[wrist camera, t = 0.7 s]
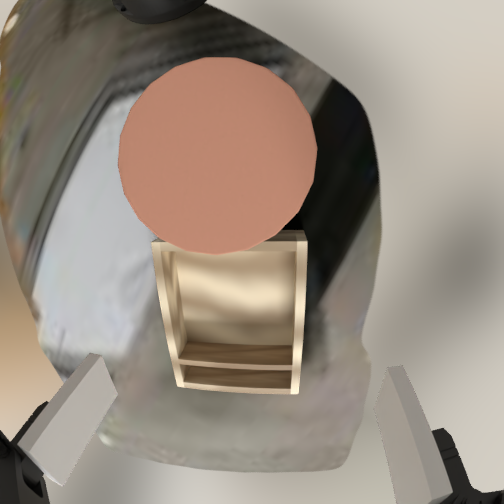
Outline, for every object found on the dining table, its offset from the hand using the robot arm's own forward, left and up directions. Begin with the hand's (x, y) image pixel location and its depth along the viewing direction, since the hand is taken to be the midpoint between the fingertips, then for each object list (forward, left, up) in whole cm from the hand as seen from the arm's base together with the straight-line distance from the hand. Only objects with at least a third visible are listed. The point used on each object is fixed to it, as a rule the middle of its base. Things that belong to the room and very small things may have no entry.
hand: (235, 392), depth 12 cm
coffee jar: (-10, -2, -23) cm, 25 cm away
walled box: (+8, -4, -23) cm, 25 cm away
